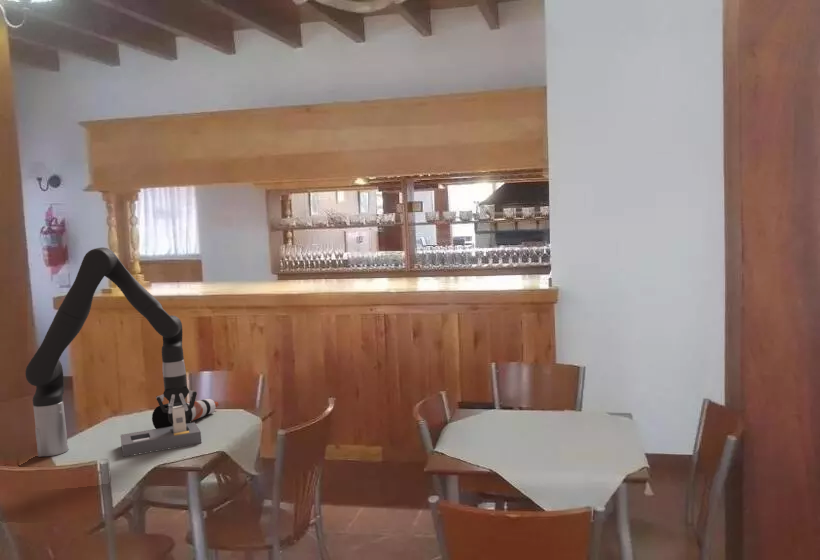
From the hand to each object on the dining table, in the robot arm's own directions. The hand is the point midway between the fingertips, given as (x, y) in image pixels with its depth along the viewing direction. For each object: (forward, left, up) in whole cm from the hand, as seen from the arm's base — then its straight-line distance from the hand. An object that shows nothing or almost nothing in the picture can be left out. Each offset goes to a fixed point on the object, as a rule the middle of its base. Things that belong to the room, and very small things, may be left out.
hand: (179, 422), depth 255 cm
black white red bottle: (+7, +24, -7) cm, 26 cm away
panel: (-7, 0, -7) cm, 9 cm away
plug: (0, 0, -6) cm, 6 cm away
